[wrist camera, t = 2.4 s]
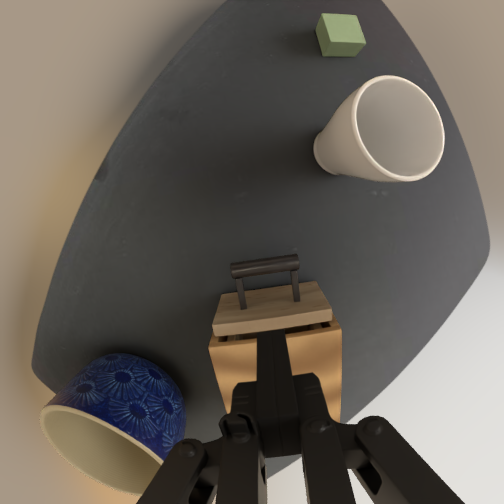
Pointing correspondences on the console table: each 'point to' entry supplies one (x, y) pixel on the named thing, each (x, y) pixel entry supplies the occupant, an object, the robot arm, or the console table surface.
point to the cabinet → (301, 359)
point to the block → (339, 35)
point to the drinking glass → (382, 133)
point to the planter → (117, 421)
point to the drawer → (270, 302)
